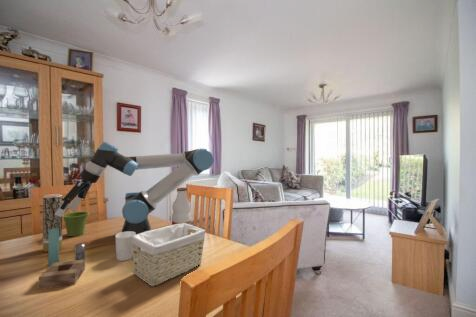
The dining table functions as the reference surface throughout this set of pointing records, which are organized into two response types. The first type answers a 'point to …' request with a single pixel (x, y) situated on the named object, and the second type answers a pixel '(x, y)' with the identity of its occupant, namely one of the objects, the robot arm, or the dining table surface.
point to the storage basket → (167, 252)
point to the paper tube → (51, 218)
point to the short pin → (80, 251)
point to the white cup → (124, 245)
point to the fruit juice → (181, 208)
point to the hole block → (62, 274)
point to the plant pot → (75, 223)
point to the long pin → (53, 246)
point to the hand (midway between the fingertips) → (65, 212)
